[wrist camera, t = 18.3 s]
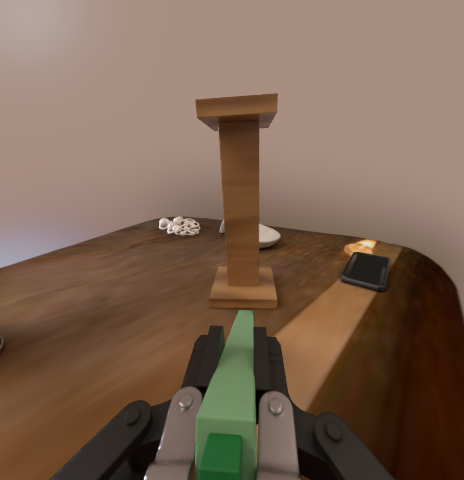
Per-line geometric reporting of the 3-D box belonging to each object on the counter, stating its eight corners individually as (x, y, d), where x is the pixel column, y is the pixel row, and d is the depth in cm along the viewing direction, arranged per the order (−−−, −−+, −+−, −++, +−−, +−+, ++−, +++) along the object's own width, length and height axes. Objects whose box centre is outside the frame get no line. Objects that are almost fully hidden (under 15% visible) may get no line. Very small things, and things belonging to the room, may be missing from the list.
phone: (340, 276, 44) (354, 251, 55) (339, 280, 45) (353, 255, 55) (386, 288, 40) (391, 258, 50) (385, 293, 40) (390, 262, 51)
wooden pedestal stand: (277, 312, 36) (286, 92, 25) (208, 311, 38) (187, 100, 26) (270, 272, 49) (274, 115, 38) (219, 272, 51) (208, 119, 39)
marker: (260, 546, 5) (258, 453, 5) (177, 536, 5) (180, 446, 5) (254, 325, 26) (253, 310, 26) (238, 325, 26) (238, 310, 26)
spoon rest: (287, 245, 64) (288, 222, 62) (260, 256, 57) (260, 231, 55) (236, 228, 81) (235, 210, 79) (211, 236, 75) (209, 216, 72)
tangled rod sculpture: (210, 235, 79) (210, 225, 77) (172, 242, 71) (171, 230, 69) (189, 223, 94) (189, 214, 92) (156, 227, 86) (155, 217, 85)
